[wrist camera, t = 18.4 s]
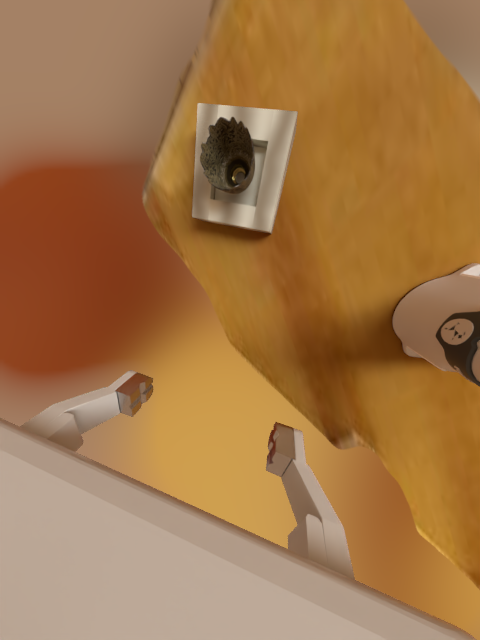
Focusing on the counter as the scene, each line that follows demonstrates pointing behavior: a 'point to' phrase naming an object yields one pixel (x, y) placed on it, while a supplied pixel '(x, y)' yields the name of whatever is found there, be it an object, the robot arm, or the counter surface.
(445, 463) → the counter surface
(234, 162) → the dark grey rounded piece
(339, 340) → the counter surface
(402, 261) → the counter surface
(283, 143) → the white recessed square tray
